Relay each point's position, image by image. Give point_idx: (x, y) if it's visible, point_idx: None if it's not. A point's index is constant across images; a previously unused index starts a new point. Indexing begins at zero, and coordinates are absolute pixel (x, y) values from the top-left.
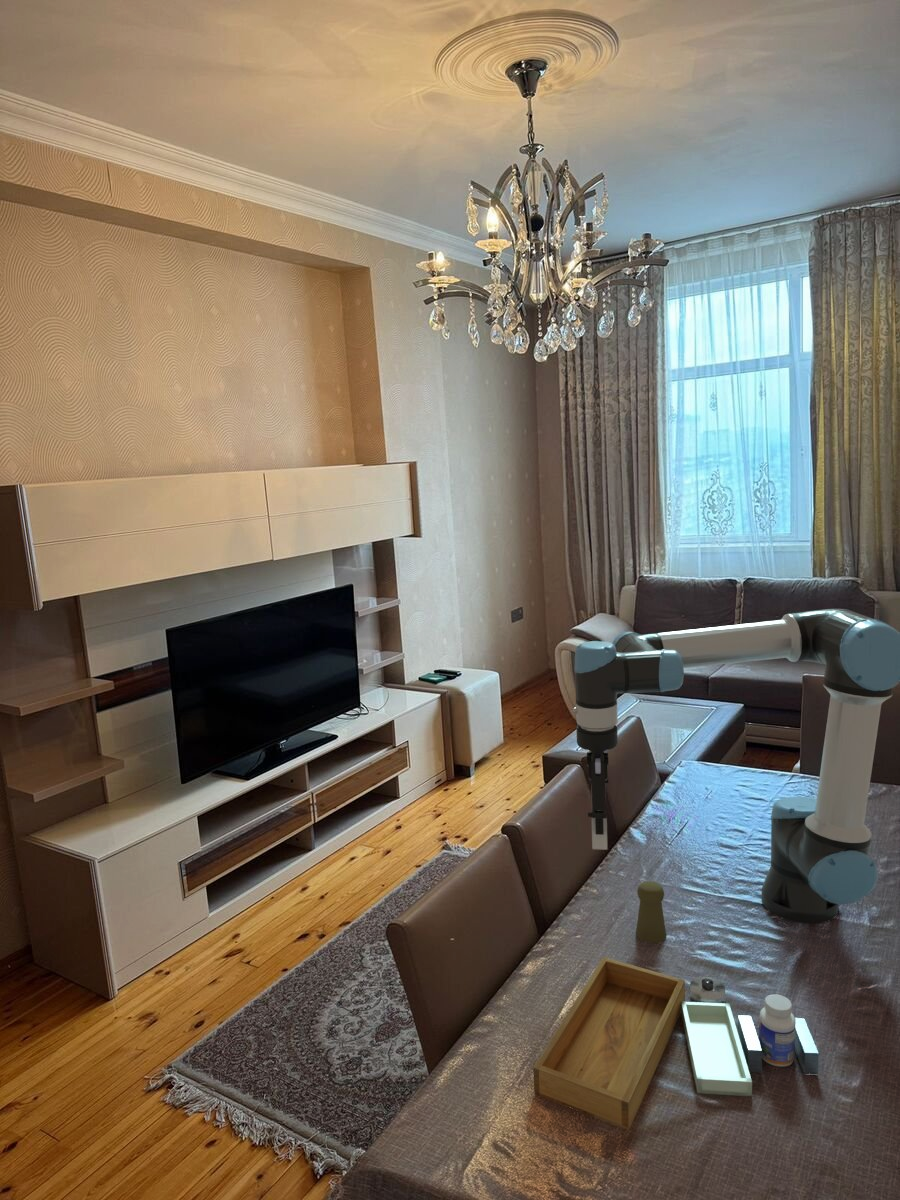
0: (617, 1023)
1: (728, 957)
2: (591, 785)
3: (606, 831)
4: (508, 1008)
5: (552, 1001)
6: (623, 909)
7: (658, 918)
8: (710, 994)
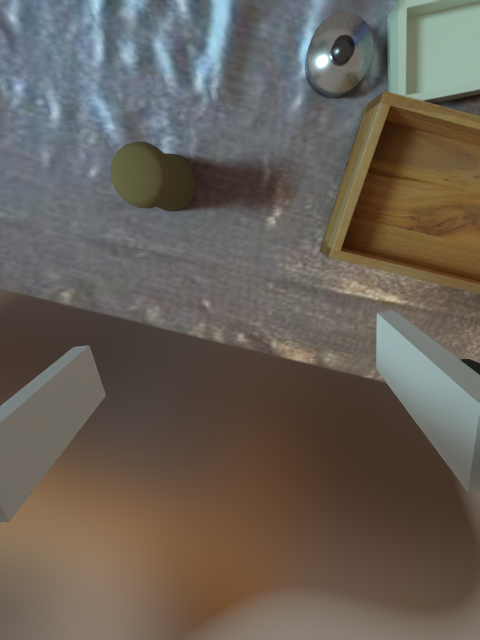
0: (431, 217)
1: (203, 17)
2: (6, 521)
3: (443, 349)
4: None
5: (372, 316)
6: (106, 239)
7: (174, 162)
8: (363, 46)
